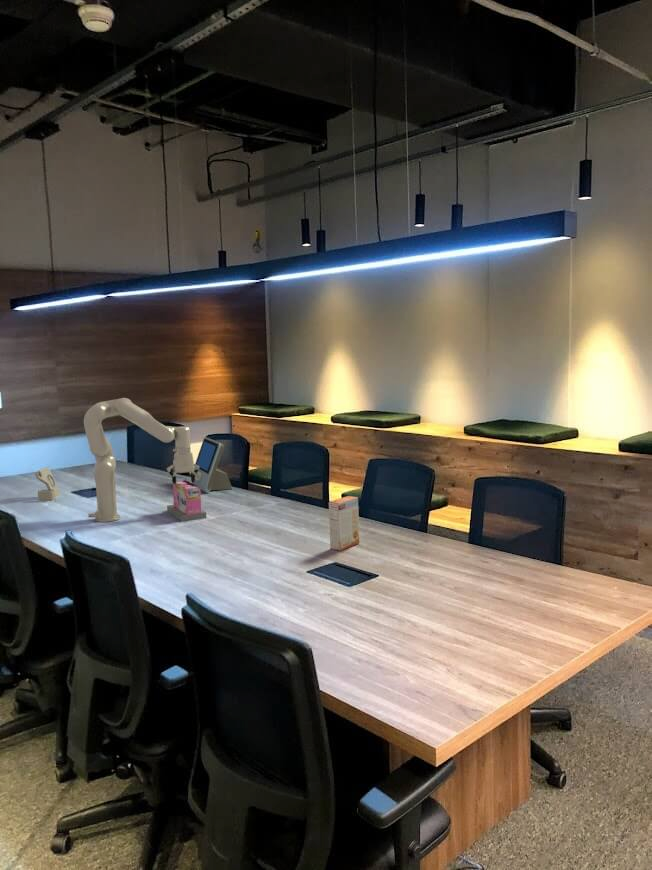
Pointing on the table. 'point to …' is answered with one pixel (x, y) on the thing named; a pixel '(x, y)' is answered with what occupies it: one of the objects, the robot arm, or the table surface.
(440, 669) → the table surface
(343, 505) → the cracker box
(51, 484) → the phone holder
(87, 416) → the robot arm
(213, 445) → the touchscreen device
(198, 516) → the base plinth
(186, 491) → the gum box
